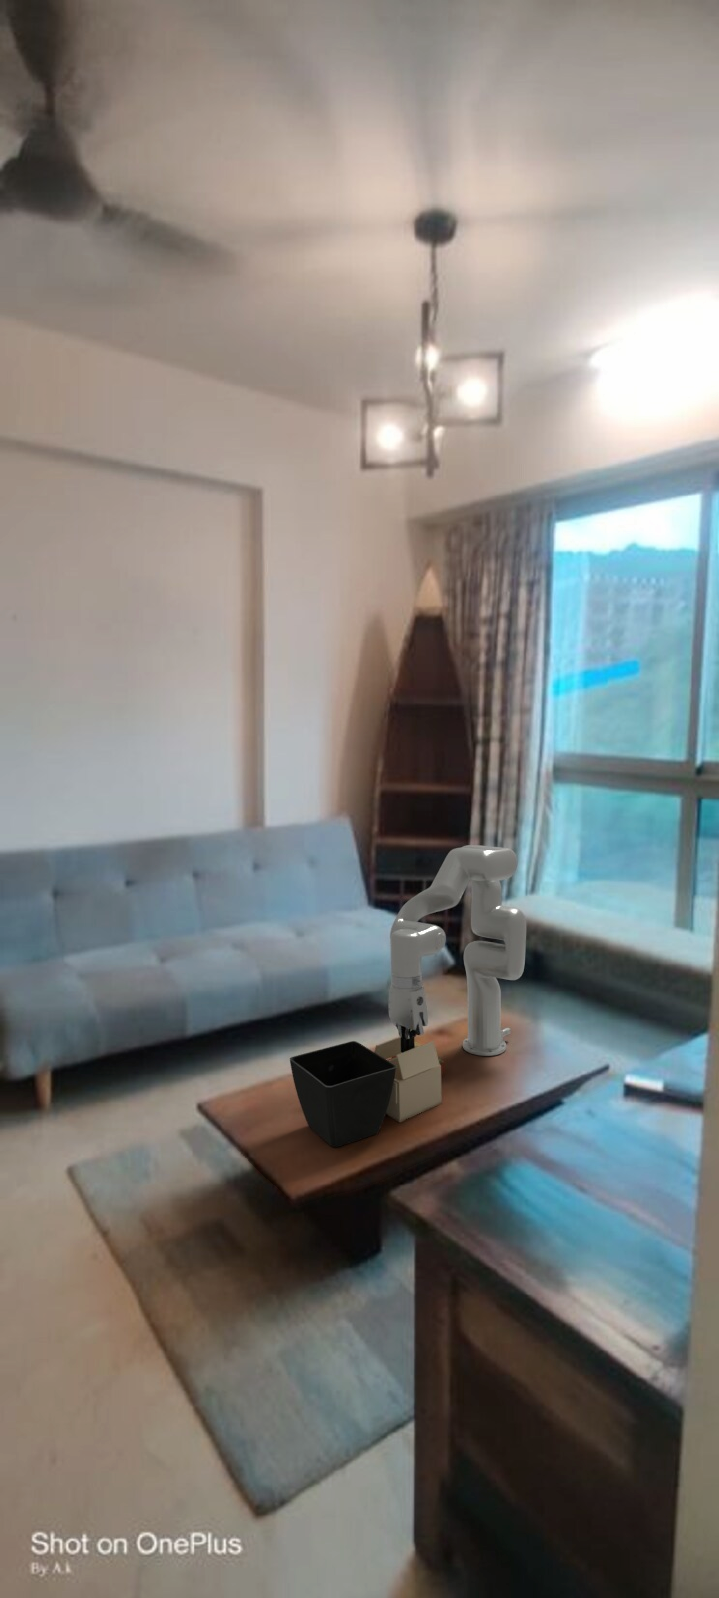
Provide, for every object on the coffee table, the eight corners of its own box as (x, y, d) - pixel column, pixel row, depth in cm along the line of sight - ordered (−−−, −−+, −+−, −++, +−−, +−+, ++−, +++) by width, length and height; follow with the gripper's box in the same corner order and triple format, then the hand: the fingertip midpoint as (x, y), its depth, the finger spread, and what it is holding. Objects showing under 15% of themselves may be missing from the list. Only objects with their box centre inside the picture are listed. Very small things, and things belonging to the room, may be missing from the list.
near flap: (432, 1041, 198) (433, 1041, 198) (438, 1064, 197) (439, 1064, 197) (396, 1055, 190) (397, 1055, 190) (402, 1079, 189) (403, 1079, 189)
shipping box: (413, 1087, 207) (412, 1051, 206) (442, 1102, 199) (442, 1064, 198) (369, 1106, 198) (368, 1068, 197) (398, 1123, 190) (397, 1083, 189)
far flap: (408, 1050, 206) (407, 1049, 206) (413, 1032, 203) (412, 1031, 204) (372, 1064, 198) (371, 1063, 198) (377, 1045, 196) (376, 1044, 196)
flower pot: (356, 1102, 200) (354, 1038, 199) (399, 1134, 185) (398, 1065, 183) (289, 1124, 190) (287, 1057, 189) (329, 1160, 175) (327, 1087, 173)
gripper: (438, 984, 191) (439, 1057, 193) (397, 969, 202) (399, 1038, 204) (415, 991, 186) (417, 1066, 188) (375, 976, 198) (376, 1046, 200)
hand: (407, 1051), depth 196 cm, fingers closed
